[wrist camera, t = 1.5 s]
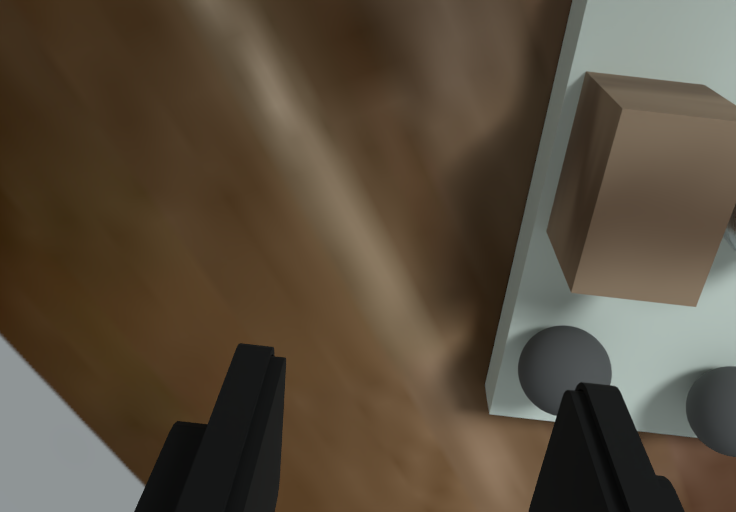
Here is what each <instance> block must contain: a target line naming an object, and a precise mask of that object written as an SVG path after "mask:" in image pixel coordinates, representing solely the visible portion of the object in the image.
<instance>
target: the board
mask: <svg viewBox="0 0 736 512" xmlns="http://www.w3.org/2000/svg"><path fill="white" fill-rule="evenodd" d="M586 71H588V72H597V73H606V74H615V75H623V76H632V77H641V78H650V79H658V80H667V81H676V82H685V83H694V84H702V85H706V86H707V87H709V88H710V89H712V90H713V91H715V92H716V93H718V94H719V95H721V96H722V97H724V98H726V99H727V100H729V101H730V102H732V103H733V104H735V105H736V0H572V4H571V9H570V13H569V17H568V22H567V26H566V31H565V35H564V39H563V44H562V48H561V53H560V57H559V61H558V66H557V70H556V75H555V79H554V83H553V88H552V92H551V97H550V101H549V105H548V110H547V114H546V119H545V123H544V127H543V132H542V136H541V141H540V145H539V149H538V154H537V158H536V163H535V167H534V171H533V176H532V180H531V185H530V189H529V193H528V198H527V202H526V206H525V211H524V215H523V220H522V224H521V228H520V233H519V237H518V242H517V246H516V250H515V255H514V259H513V264H512V268H511V272H510V277H509V281H508V286H507V290H506V294H505V299H504V303H503V308H502V312H501V316H500V321H499V325H498V330H497V334H496V338H495V343H494V347H493V352H492V356H491V360H490V365H489V369H488V374H487V378H486V382H485V390H486V396H487V403H488V409H489V414H492V415H501V416H510V417H518V418H527V419H536V420H545V421H554V422H555V420H556V417H557V416H555V415H551V414H549V413H546V412H544V411H542V410H541V409H539V408H538V407H537V406H535V405H534V404H533V403H532V402H531V401H530V400H529V399H528V397H527V396H526V395H525V393H524V391H523V389H522V387H521V384H520V381H519V376H518V362H519V358H520V355H521V352H522V350H523V348H524V346H525V345H526V343H527V342H528V341H529V340H530V338H532V337H533V336H534V335H535V334H537V333H538V332H540V331H542V330H544V329H546V328H549V327H553V326H562V325H564V326H573V327H577V328H580V329H582V330H584V331H586V332H588V333H590V334H591V335H593V336H594V337H595V338H596V339H597V340H598V341H599V342H600V343H601V344H602V345H603V347H604V348H605V350H606V352H607V354H608V356H609V359H610V363H611V369H612V379H611V384H610V385H612V386H616V387H618V389H619V390H620V392H621V394H622V397H623V399H624V401H625V404H626V406H627V408H628V411H629V413H630V416H631V418H632V420H633V423H634V425H635V427H636V430H637V431H642V432H651V433H659V434H668V435H677V436H686V437H695V438H698V437H697V436H696V435H695V433H694V432H693V430H692V429H691V427H690V424H689V422H688V419H687V415H686V399H687V395H688V392H689V390H690V388H691V386H692V385H693V383H694V382H695V381H696V380H697V379H698V378H699V377H700V376H702V375H703V374H704V373H706V372H708V371H710V370H712V369H715V368H719V367H725V366H736V251H735V250H734V249H733V248H731V246H730V245H729V244H728V243H727V241H726V240H725V238H724V237H723V238H722V240H721V243H720V246H719V248H718V251H717V253H716V256H715V259H714V261H713V264H712V267H711V269H710V272H709V274H708V277H707V280H706V282H705V285H704V287H703V290H702V293H701V295H700V298H699V300H698V303H697V306H696V307H691V306H682V305H673V304H664V303H655V302H647V301H638V300H629V299H620V298H611V297H603V296H594V295H585V294H576V293H571V292H570V289H569V287H568V284H567V282H566V279H565V277H564V274H563V272H562V269H561V267H560V264H559V262H558V259H557V257H556V254H555V252H554V249H553V247H552V244H551V242H550V240H549V237H548V235H547V232H546V230H547V226H548V222H549V218H550V214H551V210H552V206H553V202H554V198H555V194H556V190H557V186H558V182H559V178H560V174H561V170H562V166H563V162H564V158H565V153H566V149H567V145H568V141H569V137H570V133H571V129H572V125H573V121H574V117H575V113H576V109H577V105H578V101H579V97H580V93H581V89H582V85H583V81H584V77H585V73H586Z"/></svg>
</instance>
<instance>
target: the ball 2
mask: <svg viewBox="0 0 736 512" xmlns="http://www.w3.org/2000/svg"><path fill="white" fill-rule="evenodd" d="M686 415H687V419H688V422H689V424H690V427H691V429H692V430H693V432H694V433H695V435H696V436H697V437H698V438H699V439H700V440H701V441H702V442H703V443H704V444H705V445H706V446H708V447H709V448H711V449H713V450H714V451H716V452H718V453H721V454H724V455H727V456H732V457H736V366H725V367H719V368H715V369H712V370H710V371H708V372H706V373H704V374H703V375H702V376H700V377H699V378H698V379H697V380H696V381H695V382H694V383H693V385H692V386H691V388H690V390H689V392H688V395H687V399H686Z"/></svg>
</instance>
